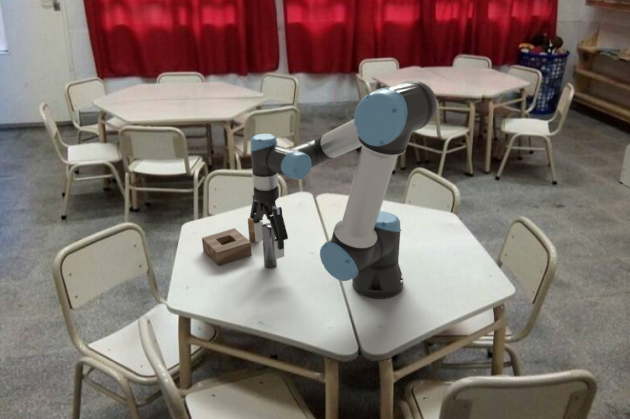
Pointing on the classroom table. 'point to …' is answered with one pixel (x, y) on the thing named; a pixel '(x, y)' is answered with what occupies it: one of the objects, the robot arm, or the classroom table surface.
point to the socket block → (226, 246)
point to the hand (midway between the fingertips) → (269, 248)
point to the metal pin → (268, 246)
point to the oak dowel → (251, 230)
